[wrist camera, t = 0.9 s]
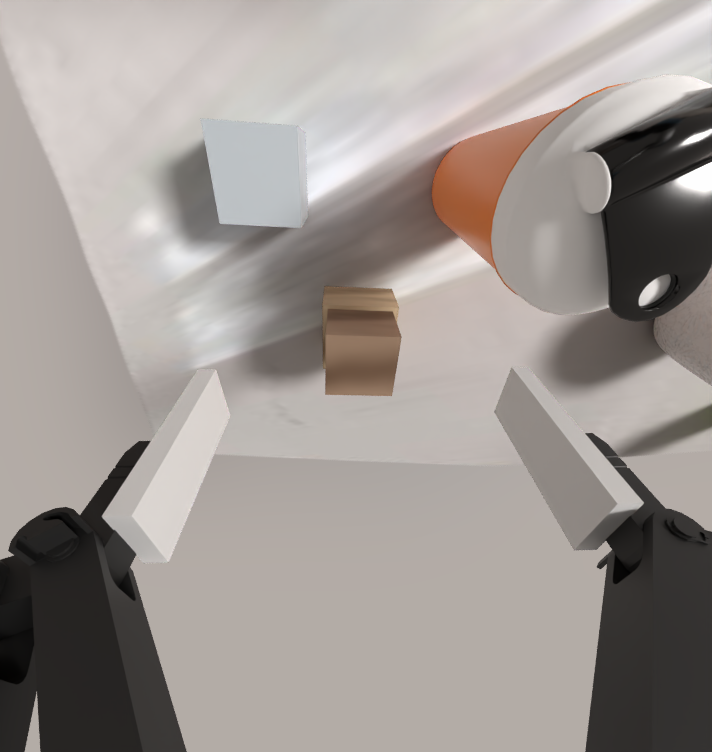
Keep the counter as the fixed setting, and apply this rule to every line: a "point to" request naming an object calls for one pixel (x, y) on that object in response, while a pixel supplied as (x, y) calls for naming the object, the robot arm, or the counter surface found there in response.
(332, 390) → the walnut block
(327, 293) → the oak block
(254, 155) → the grey-blue cube
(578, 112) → the shaker bottle
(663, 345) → the planter
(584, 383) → the counter surface
